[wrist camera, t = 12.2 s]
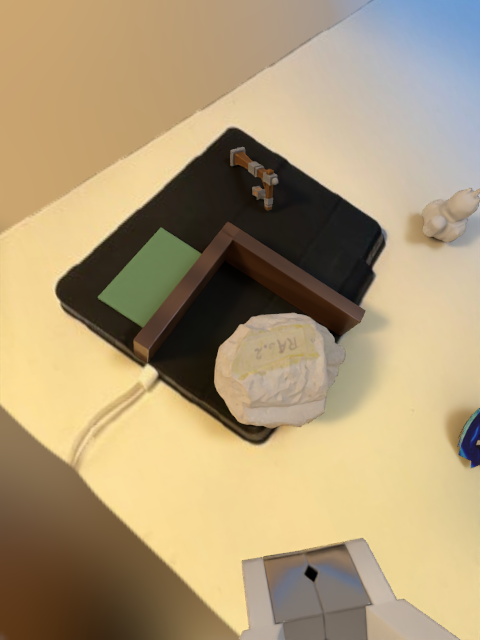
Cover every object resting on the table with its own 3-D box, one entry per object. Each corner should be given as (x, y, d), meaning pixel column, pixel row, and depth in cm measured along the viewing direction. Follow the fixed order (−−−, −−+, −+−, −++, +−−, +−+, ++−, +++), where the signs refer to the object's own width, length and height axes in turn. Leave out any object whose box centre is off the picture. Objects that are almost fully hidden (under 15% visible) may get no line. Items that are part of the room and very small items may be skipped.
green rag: (151, 334, 36) (152, 332, 36) (97, 298, 36) (97, 297, 36) (209, 260, 40) (209, 258, 40) (160, 228, 40) (160, 227, 40)
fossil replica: (344, 385, 39) (276, 314, 41) (392, 350, 32) (306, 267, 34) (262, 469, 33) (187, 381, 35) (297, 450, 26) (201, 340, 28)
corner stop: (283, 452, 35) (300, 449, 31) (133, 354, 35) (133, 339, 31) (346, 325, 41) (366, 310, 38) (220, 243, 41) (227, 221, 38)
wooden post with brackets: (267, 215, 43) (270, 176, 40) (230, 185, 48) (230, 148, 44) (280, 211, 44) (284, 172, 41) (242, 182, 48) (243, 145, 45)
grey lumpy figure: (459, 238, 51) (512, 197, 43) (429, 258, 48) (480, 218, 41) (431, 206, 52) (479, 162, 44) (400, 225, 49) (446, 180, 42)
